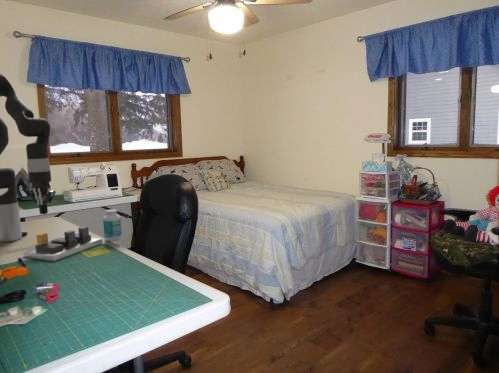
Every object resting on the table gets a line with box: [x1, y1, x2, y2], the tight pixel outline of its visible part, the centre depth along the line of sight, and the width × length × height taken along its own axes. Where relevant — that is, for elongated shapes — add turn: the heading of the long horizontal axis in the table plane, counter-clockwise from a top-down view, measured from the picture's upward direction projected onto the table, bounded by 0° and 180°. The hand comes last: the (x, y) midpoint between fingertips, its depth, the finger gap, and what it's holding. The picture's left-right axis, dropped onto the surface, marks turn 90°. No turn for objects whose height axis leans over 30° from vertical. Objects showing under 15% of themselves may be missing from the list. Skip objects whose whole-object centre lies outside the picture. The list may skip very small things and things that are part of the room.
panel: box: [23, 226, 104, 262], centre depth 148 cm, size 17×24×8 cm
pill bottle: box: [102, 209, 123, 242], centre depth 161 cm, size 8×7×14 cm
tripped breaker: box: [35, 232, 49, 245], centre depth 143 cm, size 2×3×4 cm
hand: (43, 213), depth 141 cm, fingers closed
